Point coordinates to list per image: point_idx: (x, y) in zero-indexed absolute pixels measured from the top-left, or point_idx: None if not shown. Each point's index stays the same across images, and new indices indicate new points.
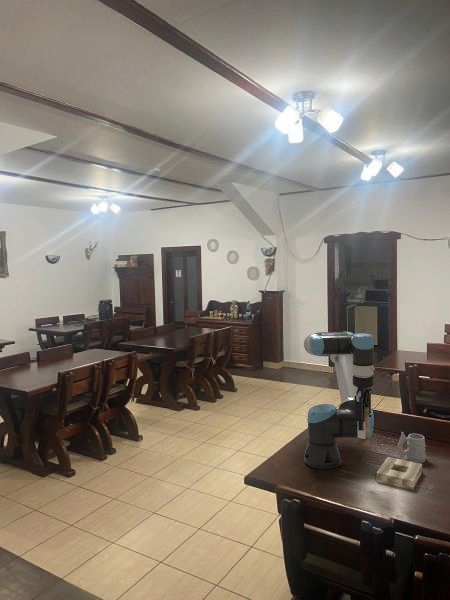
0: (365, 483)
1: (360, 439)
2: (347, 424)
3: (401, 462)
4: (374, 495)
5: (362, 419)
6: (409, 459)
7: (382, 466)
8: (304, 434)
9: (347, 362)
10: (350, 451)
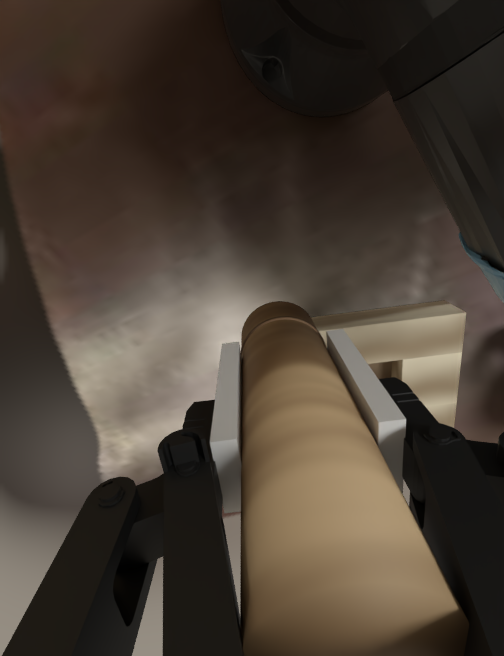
0: (235, 294)
1: (242, 350)
2: (457, 133)
3: (431, 376)
4: (173, 355)
5: (138, 572)
6: None
7: (352, 332)
8: None
9: None
10: None
